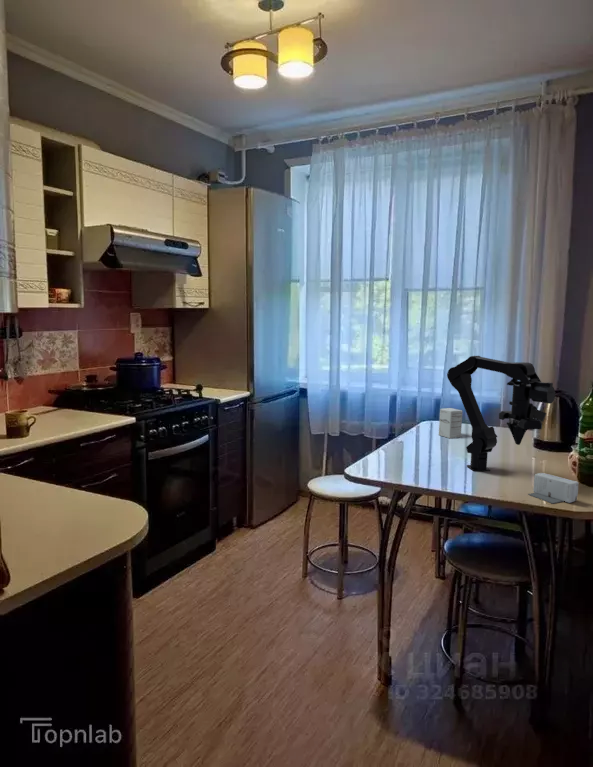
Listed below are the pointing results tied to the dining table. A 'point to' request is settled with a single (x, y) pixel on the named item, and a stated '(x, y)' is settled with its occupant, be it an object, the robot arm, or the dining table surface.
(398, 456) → the dining table surface
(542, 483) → the skincare box
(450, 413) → the supplement box
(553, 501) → the pad
